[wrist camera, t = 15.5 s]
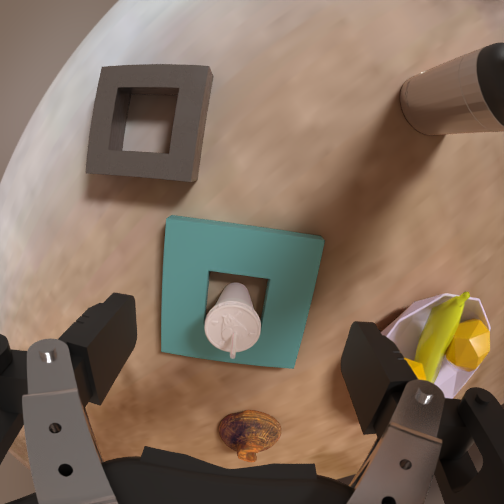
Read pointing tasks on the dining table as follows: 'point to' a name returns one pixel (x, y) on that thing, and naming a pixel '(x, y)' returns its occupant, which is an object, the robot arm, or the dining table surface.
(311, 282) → the low socket
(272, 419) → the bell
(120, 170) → the tall socket
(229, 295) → the smoothie
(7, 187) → the dining table surface
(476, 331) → the fruit bowl
